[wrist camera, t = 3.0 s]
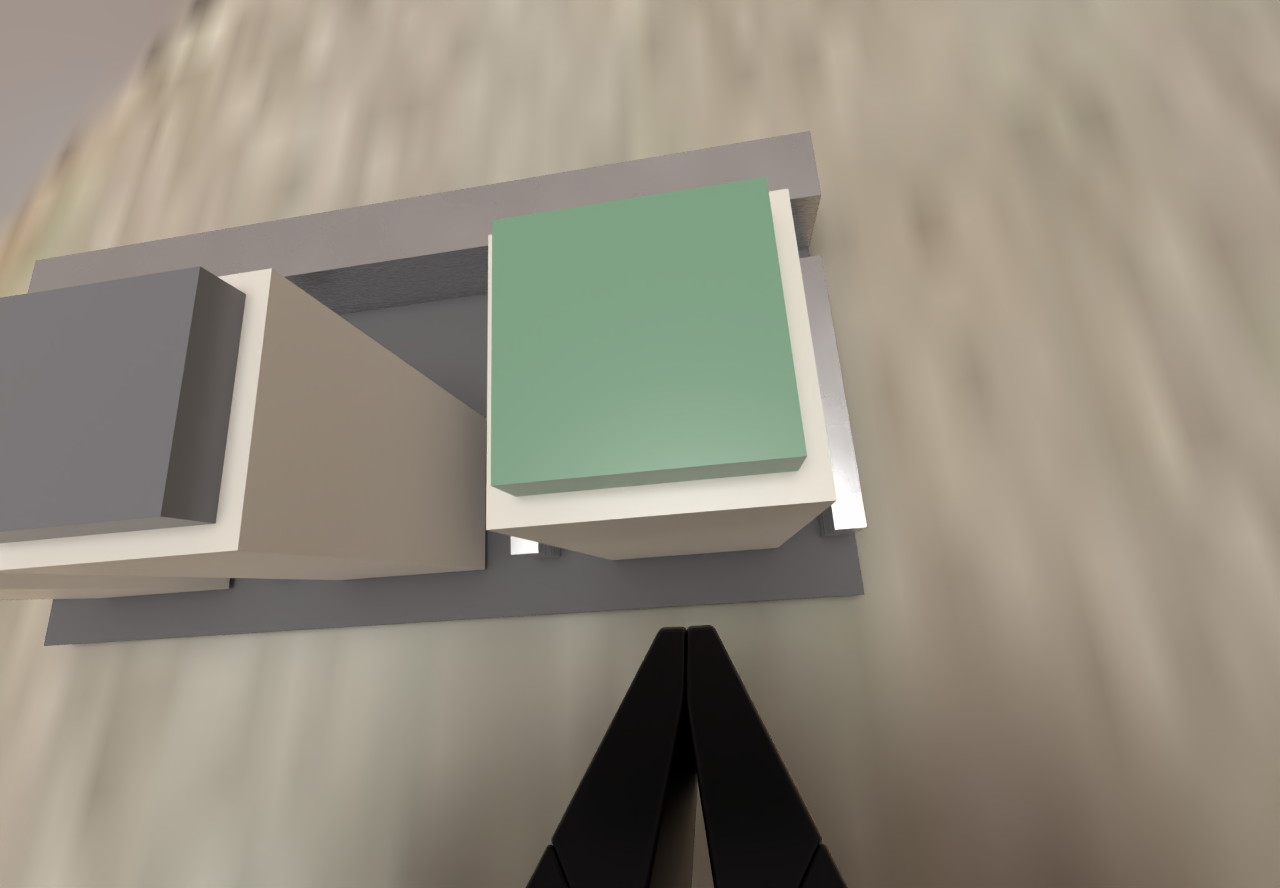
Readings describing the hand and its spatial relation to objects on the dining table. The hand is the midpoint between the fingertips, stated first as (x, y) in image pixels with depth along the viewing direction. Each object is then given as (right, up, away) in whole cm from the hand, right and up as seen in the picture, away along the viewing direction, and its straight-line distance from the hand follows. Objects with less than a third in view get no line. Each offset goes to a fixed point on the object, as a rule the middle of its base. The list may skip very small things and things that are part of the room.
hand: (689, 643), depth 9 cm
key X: (-7, +1, +9) cm, 11 cm away
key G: (+1, +2, +8) cm, 8 cm away
